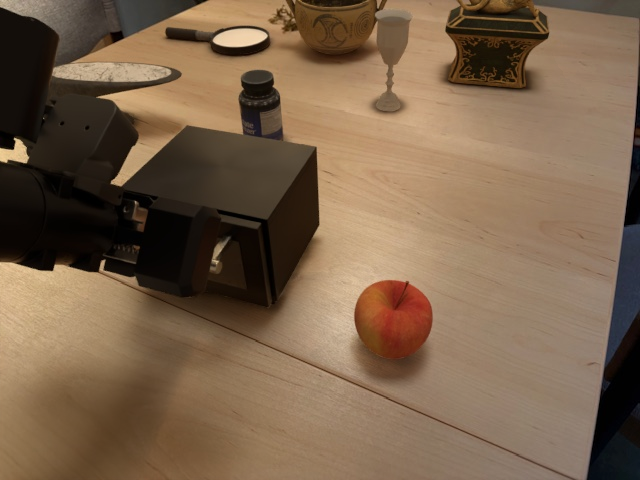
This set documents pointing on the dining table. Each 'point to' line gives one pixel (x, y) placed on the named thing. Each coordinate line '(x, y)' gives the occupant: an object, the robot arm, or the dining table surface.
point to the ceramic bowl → (335, 23)
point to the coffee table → (107, 78)
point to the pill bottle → (260, 105)
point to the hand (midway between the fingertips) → (156, 236)
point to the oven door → (240, 263)
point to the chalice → (391, 49)
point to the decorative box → (494, 41)
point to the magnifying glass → (227, 38)
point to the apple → (393, 318)
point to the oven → (242, 187)
